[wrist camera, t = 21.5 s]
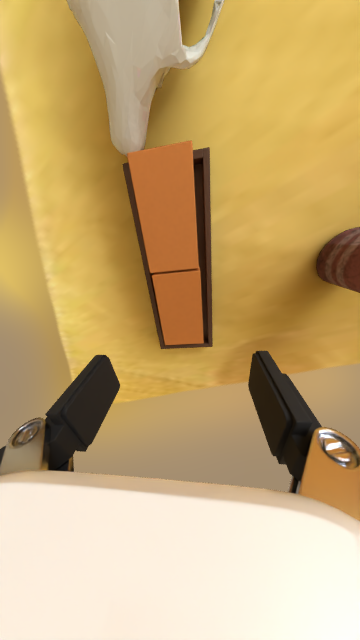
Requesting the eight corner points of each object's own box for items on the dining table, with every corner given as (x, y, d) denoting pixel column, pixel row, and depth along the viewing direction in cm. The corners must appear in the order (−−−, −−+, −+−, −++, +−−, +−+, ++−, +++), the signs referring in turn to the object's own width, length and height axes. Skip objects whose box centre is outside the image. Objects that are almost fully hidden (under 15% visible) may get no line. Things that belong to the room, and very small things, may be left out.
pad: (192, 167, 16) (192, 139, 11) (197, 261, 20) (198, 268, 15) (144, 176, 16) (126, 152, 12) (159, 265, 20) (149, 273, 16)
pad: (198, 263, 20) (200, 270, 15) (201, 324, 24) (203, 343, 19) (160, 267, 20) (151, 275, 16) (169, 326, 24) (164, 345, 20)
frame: (207, 157, 15) (209, 146, 14) (211, 339, 26) (212, 346, 24) (129, 171, 16) (122, 163, 15) (163, 341, 27) (160, 349, 25)
